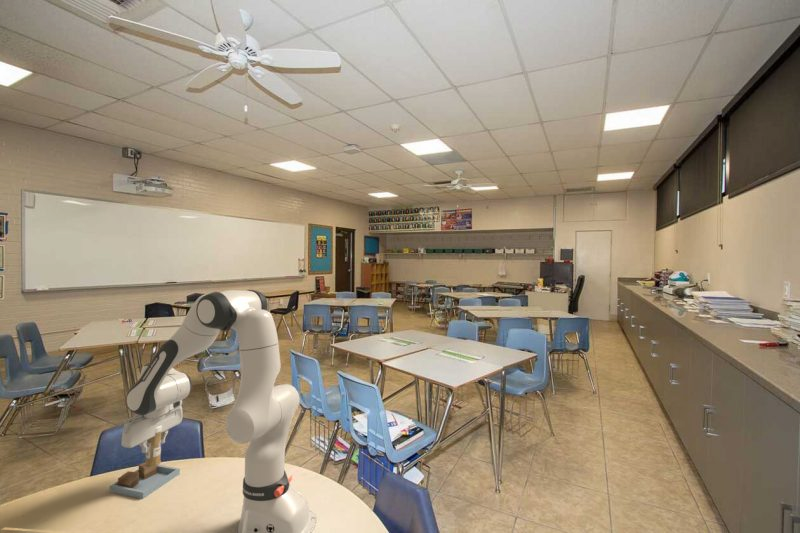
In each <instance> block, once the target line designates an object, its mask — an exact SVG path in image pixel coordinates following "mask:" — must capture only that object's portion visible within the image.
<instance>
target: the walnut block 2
mask: <svg viewBox="0 0 800 533" xmlns="http://www.w3.org/2000/svg"><path fill="white" fill-rule="evenodd" d="M145 464H146V461H145V462H143V463H140V464H138V469H139V477H141V478H142V479H144V480H145V479H147V478H149V477H151V476H153V475H155V474H157V466H155V467H151V468H147V467H145Z"/></svg>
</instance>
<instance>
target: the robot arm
mask: <svg viewBox="0 0 800 533" xmlns="http://www.w3.org/2000/svg"><path fill="white" fill-rule="evenodd" d="M274 320H275V319H274V317H273V315H272V313H271V312H269V311H268V300H267V297H266V296H265V295H264V293H262V292H261V291H259V290H253V289H247V290H246V289H245V290H242V289H239V290H237V289H228V290H223V291H219V292H218V291H213V292H211V293H205V294H202V295H200V296H199V297H198V298H197V299H196V300H195V301H194V303H193V304H192V305H191V307H190V308H189V310H188V311H187V314H186V315H185V317H184V319H183V322H181V325H180V326H179V327H178V329H177V330H176V332H175V333H174V334H173V335H172V336H171V337H169V339H168V340H166V342H164V343H163V344H162V345H161V346H160V347H159V349H158V350H157V352H156V353H155V355H154V356H153V358H152V359H151V361H150V362H148V363H146V364H144V365H143V366H142V367H141V371H140V375H139V379H138V380H137V381H136V382H135V383H134V384H133V385H132V386H131V387H130V388H129V391H127V392H128V393H127V394H126V398H125V399H126V400H125V403H126V404H125V405H126V407H127V409H128V410H129V412H132V413H133V414H136V415H135V416H132V417H129V418H128V419H127V421H126V422H125V423H124V424H123V429H122V435H121V446H122V447H124V448H127V449H132V448H135V447H136V446H138V445H139V446H140V448H141V454H146V452H148V451H150V446H147V445H146V443H147V440H148V439H150V438H152V437H154V436H155V428H157V427H159V426H162V430H161V431H160V432H161V445H163V444H165V443H166V438H167V435H168V433H169V430H170V429H172V428H174V427H176V426H177V425H180V424H181V423H182V420H183V417H184V415H183V407H182V404H183V400H184V399H185V400H186V398H188V397H189V395H190V394H191V391H192V388H193V384H192V379H191V377H190V376H189V374H187V373H185V372H183V371H178V370H177V369H175V368H174V367H175V366H176V365H177V364H179V363H181V362H182V361H184V360H186V359H188V358H191V357H193V356H196V355H197V354H200V353H202V352H204V351H206V350H208V349H209V348H210V347H211V346H212V344H213V343H214V342H215V341H216V340H217V337H218V336H219V334H220V332H221V331H223V332H228V331H229V330H230V329H232V330H234V332H236V334H237V337H238V338H237V339H238V349H239V350H238V351H239V361H240V362H239V363H240V381H239V382H240V383H239V388H238V393H237V396H236V400H235V402H234V404H233V406H232V408H231V409H230V411H229V413H228V414H227V416H226V418H225V431H226V433H227V435H228V437H229V439H231V441H233V442H235V443H237V444H240V445H242V444H247V443H249V444H248V446H247V449H246V451H245V454H244V477H243V479H242V480H243V481H242V495H243V501H242V502H243V504H242V510H241V514H240V519H239V522H238V525H237V533H309V532H310V531H311V530H312V528H313V526H314V524H315V522H316V523H317V520H316V518H317V513H316V512H314V511H313V510H310V509H309V508H310V507H309V504H308V503H309V502H308V501H307V498H306V497H304V496H303V495H302V494H301V493H300V492H299V491H298V490H296V489H295V488H294V487H293V486H292V485H291V484H290V483H291V481H292V480H293V475H290V476H289V478H288V475H287V473H286V470H285V460H286V459H285V458H286V457H285V456H286V455H285V454H286V452H285V451H286V446H287V440H288V436H289V432H290V428H291V424H292V421H293V418H294V416H295V413H296V411H297V409H298V408H299V406H300V403H301V402H300V401H301V400H300V399H301V398H300V393H299V392H298V390H297V389H296V387H295V386H293V385H291V384H287V383H286V384H285V383H284V384H279V385H278V384H277V385H275V382H276V380H277V378H278V375H279V374H280V371H281V367H282V364H281V354H280V344H279V338H278V337H279V335H278V332H277V331H278V330H277V327H276V324H275V321H274ZM312 519H314V520H313V521H312ZM315 525H316V524H315ZM312 531H313V530H312Z"/></svg>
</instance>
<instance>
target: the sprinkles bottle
mask: <svg viewBox="0 0 800 533" xmlns="http://www.w3.org/2000/svg"><path fill="white" fill-rule="evenodd" d="M161 430H162V426H159V427H157V428H155V436H154V437H152V438H150V439H148V440H147V443H146V445H147V446H150V451H148V452H146V453H145V462H146V464H145V467H147V468H151V467H155V466H157V465H161V463H162V460H161V456H162V455H161V453H162V444H161V432H160V431H161Z"/></svg>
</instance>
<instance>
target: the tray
mask: <svg viewBox="0 0 800 533" xmlns="http://www.w3.org/2000/svg"><path fill="white" fill-rule="evenodd" d="M134 472H139V468H138V469H136V470H134ZM180 473H181V468H178V467H172V466H166V465H161V464H159V465H157V474H155V475H153V476H151V477H149V478H147V479H145V480H144V479H142V478H141V477H139V484H137V485H136V486H135V487H133V488H128V487H123V486H118V480H117V481H115V482H114V483H112V484H111V485H109V492H110V493H115V494H120V495H124V496H128V497H132V498H137V499H145V498H147V497H149V495H151V494H152V493H153V492H155V491H157V490H158V489H160V488H161V487H163V486H164V485H166V484H167V483H169V482H170V481H172V480H173V479H175V478H176V477H177V476H180V475H181V474H180Z"/></svg>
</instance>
